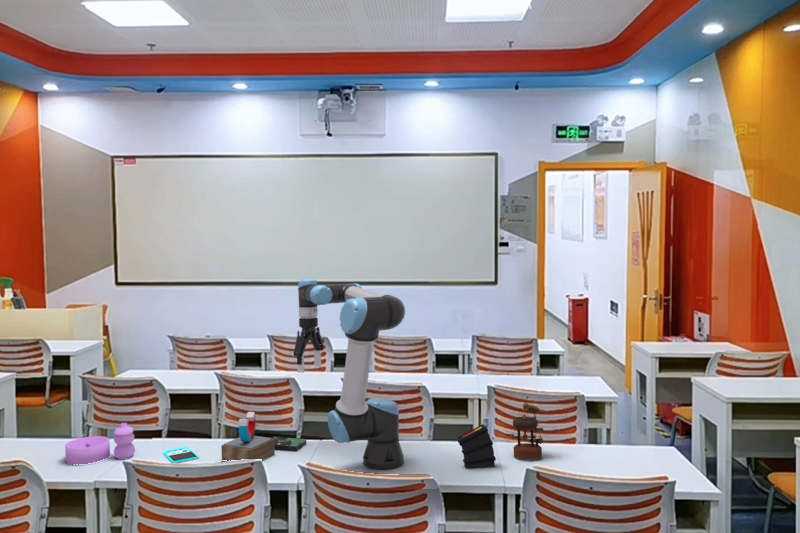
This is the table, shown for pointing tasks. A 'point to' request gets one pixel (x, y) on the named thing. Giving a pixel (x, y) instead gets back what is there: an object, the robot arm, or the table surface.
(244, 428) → the magnet
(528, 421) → the music box
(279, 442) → the disk drive
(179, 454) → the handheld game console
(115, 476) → the table surface
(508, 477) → the table surface
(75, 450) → the container set
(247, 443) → the walnut stand
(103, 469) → the table surface
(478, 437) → the magazine
